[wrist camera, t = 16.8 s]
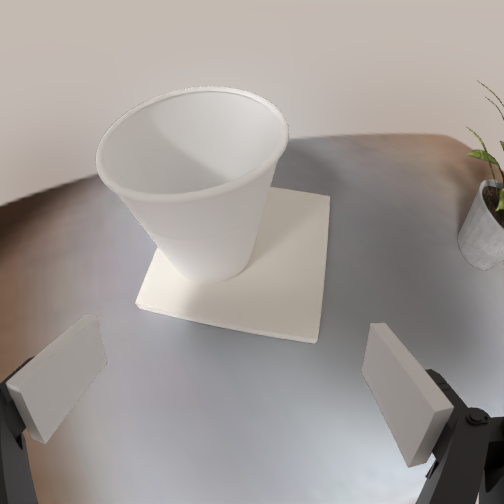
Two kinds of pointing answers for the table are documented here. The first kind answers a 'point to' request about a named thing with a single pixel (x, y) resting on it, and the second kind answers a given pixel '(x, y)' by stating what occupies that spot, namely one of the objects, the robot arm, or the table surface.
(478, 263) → the house plant
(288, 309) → the placemat
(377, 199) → the table surface
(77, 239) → the table surface
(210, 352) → the table surface
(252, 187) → the cup
